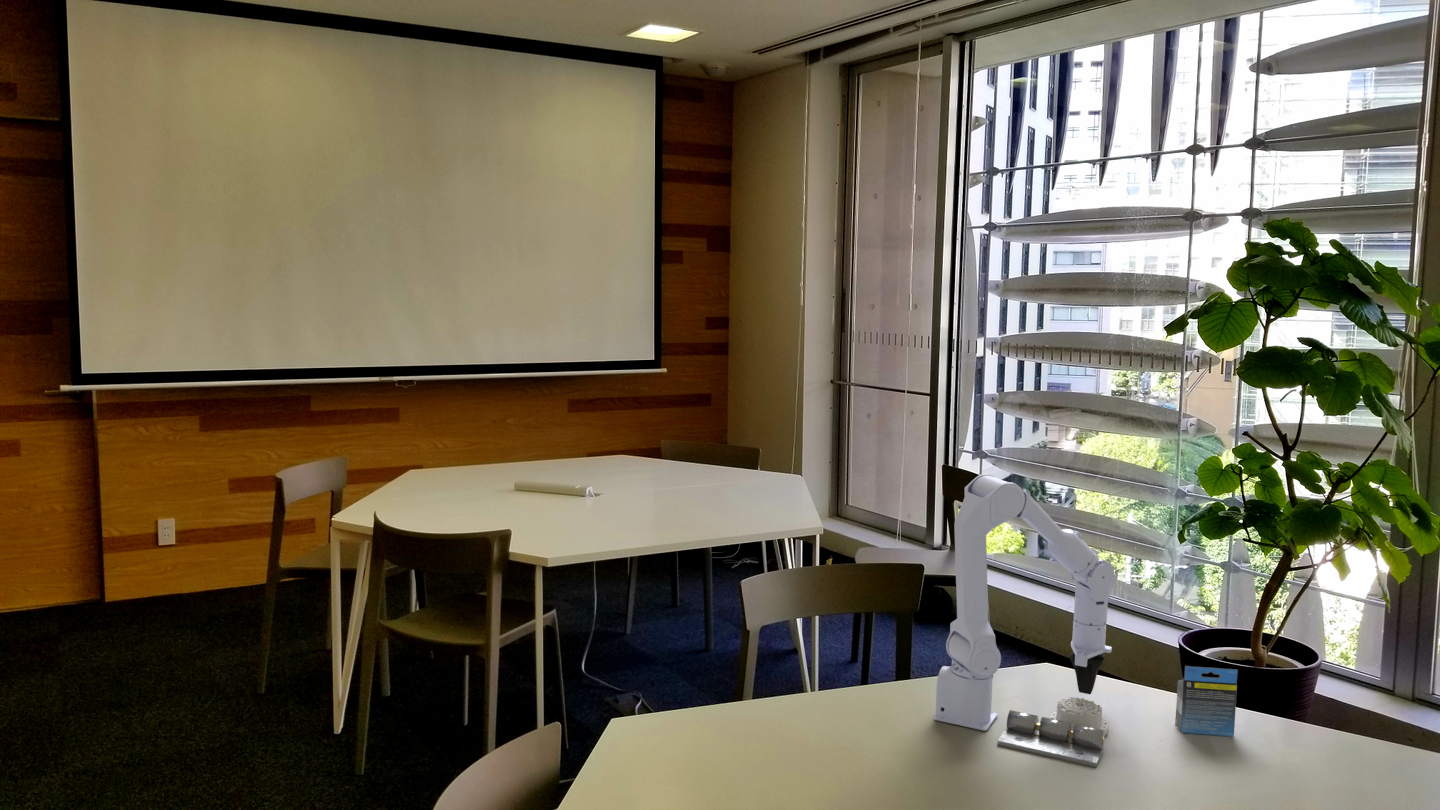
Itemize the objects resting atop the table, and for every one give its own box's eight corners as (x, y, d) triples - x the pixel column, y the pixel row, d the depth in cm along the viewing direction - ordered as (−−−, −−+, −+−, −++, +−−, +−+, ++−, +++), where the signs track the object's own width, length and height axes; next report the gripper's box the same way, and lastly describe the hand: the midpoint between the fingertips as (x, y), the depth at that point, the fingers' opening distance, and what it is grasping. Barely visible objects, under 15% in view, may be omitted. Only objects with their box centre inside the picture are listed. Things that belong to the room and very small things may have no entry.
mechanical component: (1051, 737, 179) (1112, 743, 177) (1053, 713, 178) (1114, 718, 176) (1046, 714, 188) (1103, 720, 186) (1047, 691, 188) (1105, 696, 186)
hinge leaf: (997, 745, 175) (998, 724, 174) (1010, 726, 182) (1011, 706, 182) (1096, 767, 167) (1097, 746, 167) (1105, 747, 175) (1106, 726, 174)
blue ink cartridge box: (1227, 728, 183) (1232, 661, 182) (1234, 738, 179) (1239, 669, 178) (1174, 724, 184) (1178, 657, 183) (1180, 733, 181) (1184, 665, 179)
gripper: (1106, 636, 181) (1101, 710, 182) (1119, 614, 193) (1114, 684, 195) (1064, 628, 184) (1060, 701, 186) (1080, 608, 197) (1075, 676, 198)
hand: (1085, 692), depth 190 cm, fingers closed
